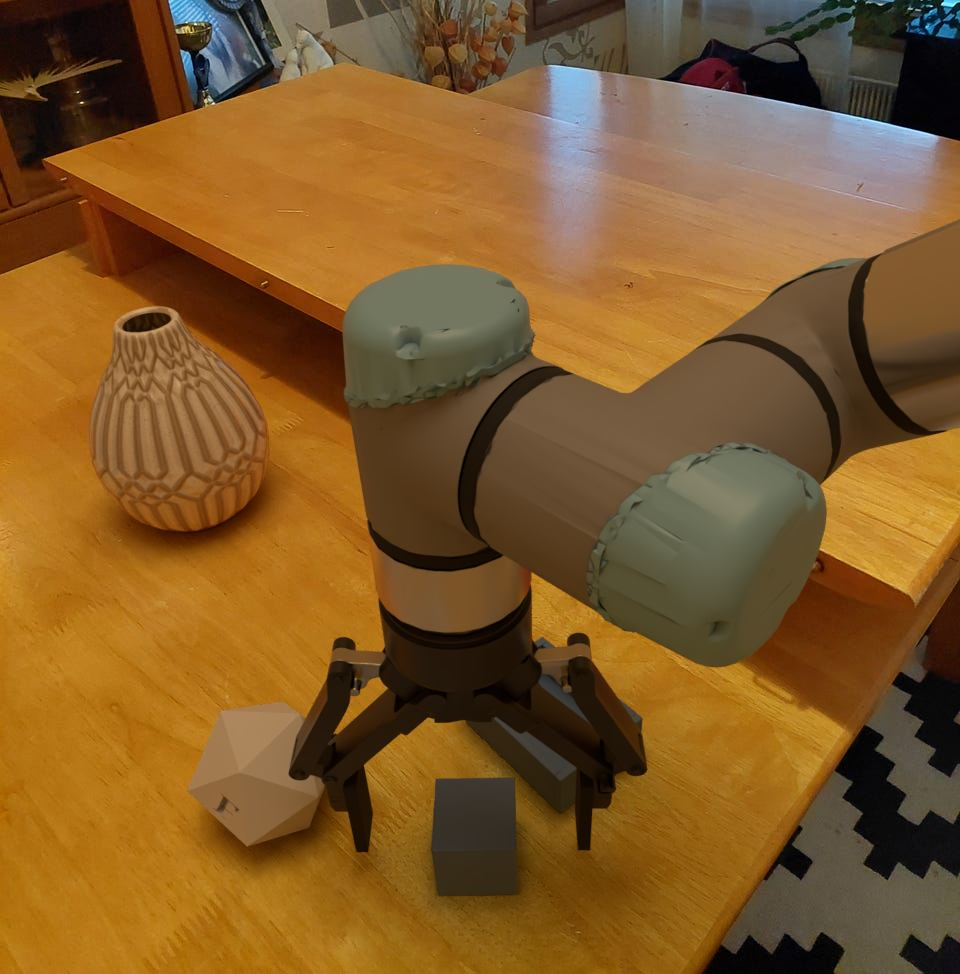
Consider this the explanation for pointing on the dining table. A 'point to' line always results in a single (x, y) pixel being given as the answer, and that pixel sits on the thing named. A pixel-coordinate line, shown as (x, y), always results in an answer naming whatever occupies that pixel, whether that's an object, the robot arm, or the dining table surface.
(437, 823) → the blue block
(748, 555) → the robot arm
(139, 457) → the vase
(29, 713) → the dining table surface
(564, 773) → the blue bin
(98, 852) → the dining table surface
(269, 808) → the die
